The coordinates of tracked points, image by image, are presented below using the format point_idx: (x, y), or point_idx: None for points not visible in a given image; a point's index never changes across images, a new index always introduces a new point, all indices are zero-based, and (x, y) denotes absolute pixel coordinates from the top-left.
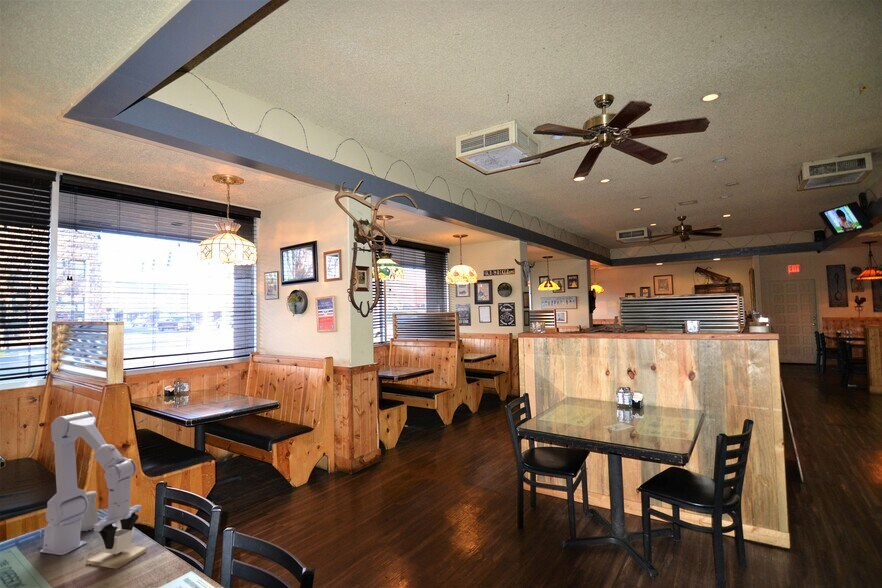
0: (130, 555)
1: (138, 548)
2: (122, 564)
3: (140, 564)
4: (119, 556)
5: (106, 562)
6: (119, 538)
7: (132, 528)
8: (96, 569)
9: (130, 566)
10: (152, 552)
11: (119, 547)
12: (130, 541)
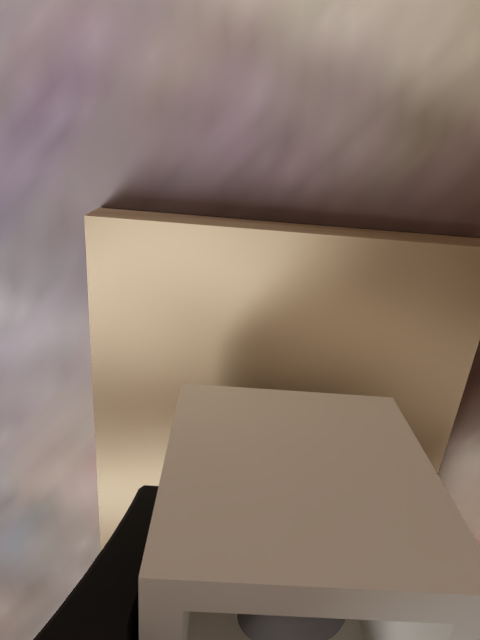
0: (290, 270)
1: (127, 306)
2: (431, 236)
3: (388, 16)
4: (323, 376)
5: (450, 408)
6: (435, 556)
7: (60, 616)
8: (476, 430)
9: (434, 122)
10: (95, 104)
11: (371, 437)
12: (185, 425)
